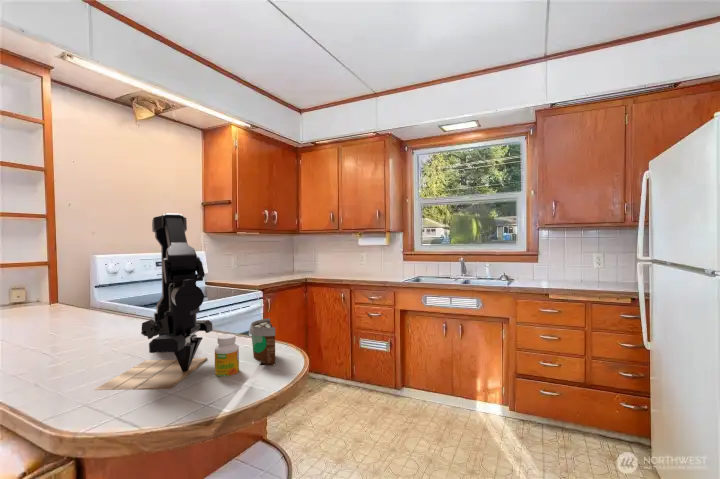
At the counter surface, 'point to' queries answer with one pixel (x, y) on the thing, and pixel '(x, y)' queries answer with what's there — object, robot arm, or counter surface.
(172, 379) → the plank
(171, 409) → the counter surface
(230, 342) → the supplement bottle
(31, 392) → the counter surface
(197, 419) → the counter surface
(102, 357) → the counter surface
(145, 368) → the floor board
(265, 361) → the food container
